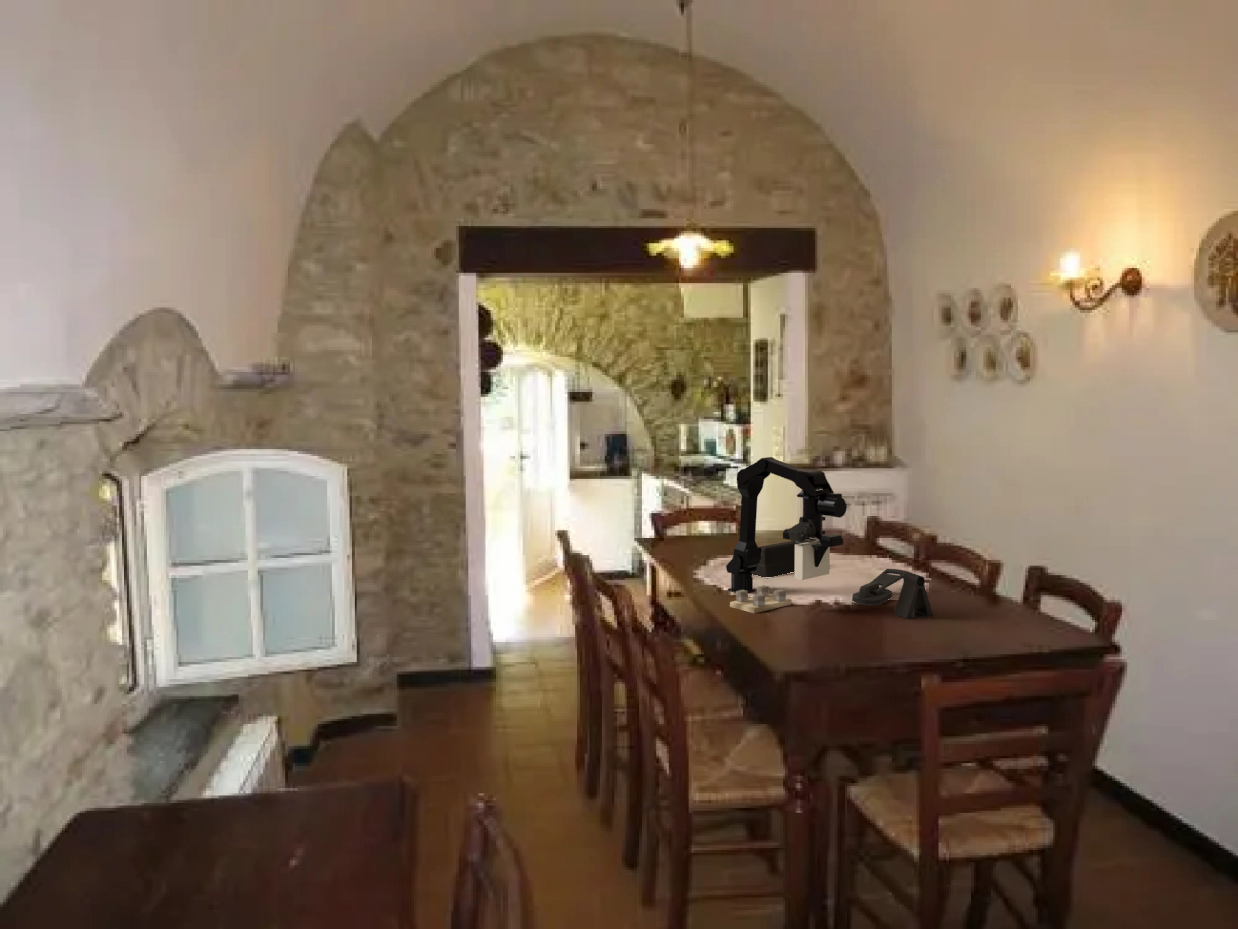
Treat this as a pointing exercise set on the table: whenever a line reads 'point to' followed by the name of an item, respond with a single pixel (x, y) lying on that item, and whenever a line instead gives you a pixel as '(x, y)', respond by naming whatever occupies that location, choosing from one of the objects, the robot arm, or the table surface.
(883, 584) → the zipper pull
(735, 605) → the hinge clip plate
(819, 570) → the cabinet door panel
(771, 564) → the barrier
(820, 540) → the robot arm
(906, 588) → the black pivot stand
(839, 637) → the table surface
